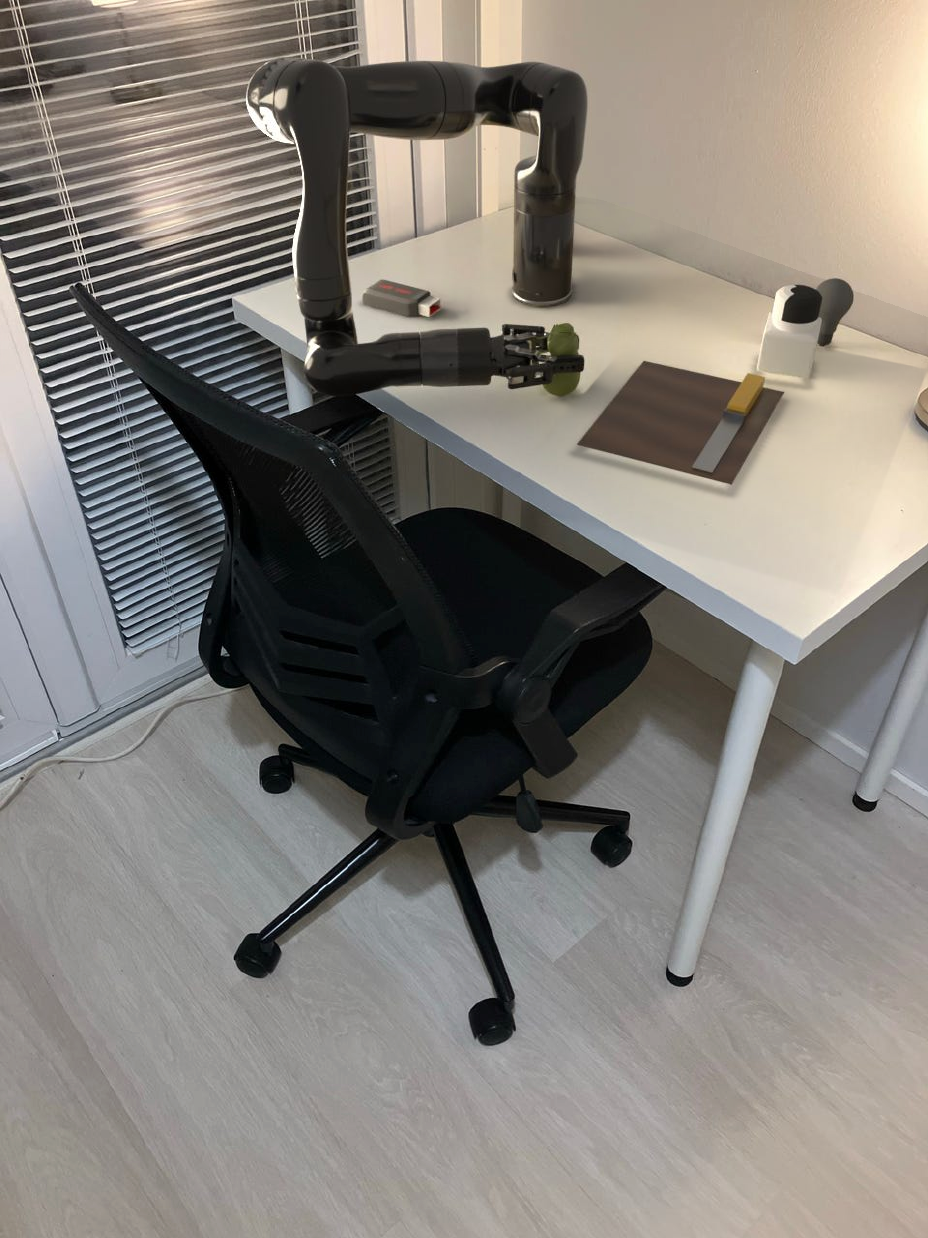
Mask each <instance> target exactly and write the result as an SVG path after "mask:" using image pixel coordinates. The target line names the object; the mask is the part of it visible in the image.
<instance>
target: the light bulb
mask: <svg viewBox="0 0 928 1238" xmlns="http://www.w3.org/2000/svg"><path fill="white" fill-rule="evenodd" d="M815 289H816V290H817V291H819V292H820V294H821V295H822V303H821V308H820V312H819V317H820V318H821V319H822V322H821V327H820V332H819V337H818V342H817V345H818V346H820V347H826V346H829V345H830V344H831V343H832V340H833V338H834V334H835V333H836V331H837V329H838V326H839V324H840V321H842V319H843V318H844V317H845V316H846V314H847V313H848V312H849V311H850V310H851V308H852V306H853V304H854V297H855V296H854V291H853V289H852V286H851V285H850V283H848V282H847V281H846V280H844V279H842V278H837V277H833V278H828V279H825V280H824V281H822V282H821V283H819V284H818V285H817V286H816V288H815Z"/></svg>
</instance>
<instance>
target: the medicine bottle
mask: <svg viewBox="0 0 928 1238" xmlns="http://www.w3.org/2000/svg"><path fill="white" fill-rule="evenodd" d="M821 303H822V295H821V294H820V292H819V291H817V290H816V288H814V287H812V286H808V285H804V284H789V285H785V286H783V287H781V288H779V289H778V290H777V291H776V292H775V298H774V303H773V309H772V310H771V311H769V313H768V316H767V320H766V324H765V326H764V330H763V333H762V337H761V338H762V339H761V344H760V350H759V354H758V359H757V365H756V371H757V372H761V373H766V374H775V375H781V376H788V377H795V378H796V377H797V378H802V379H809V378H810V377H811V374H812V368H813V364H814V359H815V356H816V355H815V354H816V349H817V345H818V344H817V342H818V337H819V332H820V327H821V322H822V319H821V318H820V317H819V312H820V308H821Z"/></svg>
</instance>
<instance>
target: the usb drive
mask: <svg viewBox="0 0 928 1238" xmlns="http://www.w3.org/2000/svg"><path fill="white" fill-rule="evenodd" d="M441 301H442V300H441V298H439V297H436V296H433V295H431V292H430V291H429V290H426V289H423V288H418V287H415V286H411V285H407V284H402V283H399V282H395V281H391V280H388V279H379V280H378V281H376V282H374V283H373V284H371V285H370V286H369V287H367V288H365V290H364V291H363V293H362V304H363V305H364V306H367V307H371V308H376V309H380V310H383V311H387V312H390V313H394V314H398V315H401V316H405V317H414V318H417V317H420V316H423V317H427V318H431V317H432V316H433V315H435V314H436V313H438V312H439V311H441V310H442V304H441V303H442V302H441Z"/></svg>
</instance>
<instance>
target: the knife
mask: <svg viewBox="0 0 928 1238" xmlns="http://www.w3.org/2000/svg"><path fill="white" fill-rule="evenodd" d="M765 380H766V377H765V376H763V375H758V374H754V373H749V372H748V373H746V376H744V378H743V380H742V381H741V382H742V383H741V385H740V386H739V388H738V389H737V391H736V392H735V394H734V395H733V397H732V399H731V400H730V402H729V403H728V406H727V408H725V410H724V413H723V419H722V420H721V422H720V423H719V425H718V427H717V428H716V430H715V431H714V433H713V434H712V436H711V438H710V439H709V441H708V442H707V444H706V445H705V447H704V449H703V450H702V452H701V453H700V455H699V456H698V458H697V460H696V461H695V463H694V464H693V466H692V469H694V470H698V471H702V472H705V473H709V474H712V473H713V472H714V470H715V468H716V467H717V465H718V464H719V462H720V460H721V459H722V457H723V455H724V454H725V452H726V450H727V449H728V447H729V445H730V444H731V442H732V440H733V439H734V437H735V435H736V434H737V432H738V430H739V429H740V427H741V426H742V424H743V423H744V422H745V420H746V416H747V414H748V412H749V411H750V409H751V408H752V406H753V404H754V403H755V401H756V399H757V398H758V396H759V394H760V393H761V391H762V389H763V387H765V386H764V385H765Z"/></svg>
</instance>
